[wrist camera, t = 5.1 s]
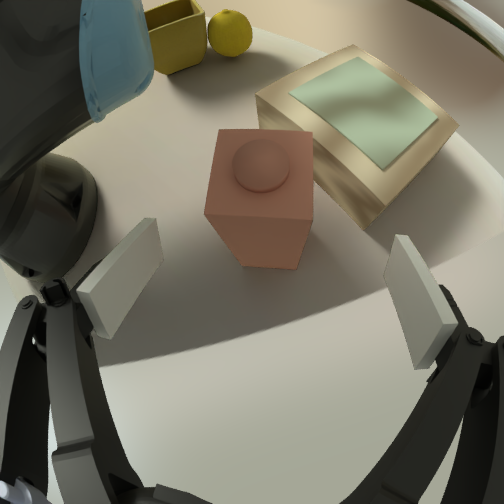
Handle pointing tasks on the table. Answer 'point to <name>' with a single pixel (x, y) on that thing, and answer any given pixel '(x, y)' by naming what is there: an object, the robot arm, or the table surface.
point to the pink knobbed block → (262, 194)
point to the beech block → (358, 127)
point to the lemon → (229, 33)
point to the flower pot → (176, 35)
